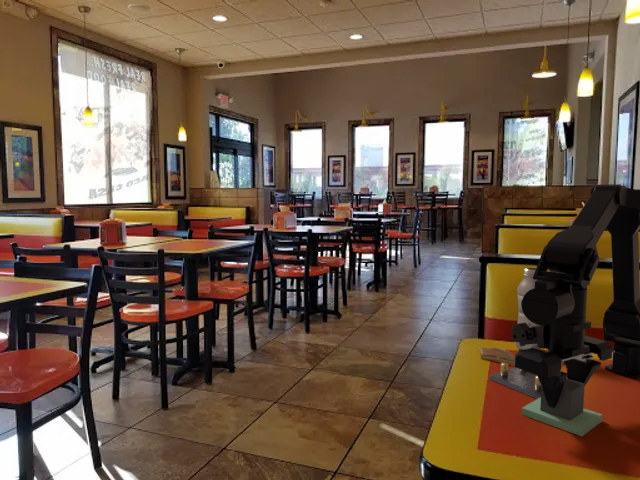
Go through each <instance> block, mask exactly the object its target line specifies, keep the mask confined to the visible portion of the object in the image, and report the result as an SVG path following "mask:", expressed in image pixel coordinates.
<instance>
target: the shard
mask: <svg viewBox="0 0 640 480" xmlns="http://www.w3.org/2000/svg"><path fill="white" fill-rule="evenodd" d="M478 351H479V352H480V353H481V354H480V360H485V361H492V362H494V363H499V364H501V363H507V364H508V366H511V367H515V366H514V361H515V354H514V353H512V351H511V352H510V351H509V350H507V349H504V348H499V347H478Z"/></svg>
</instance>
